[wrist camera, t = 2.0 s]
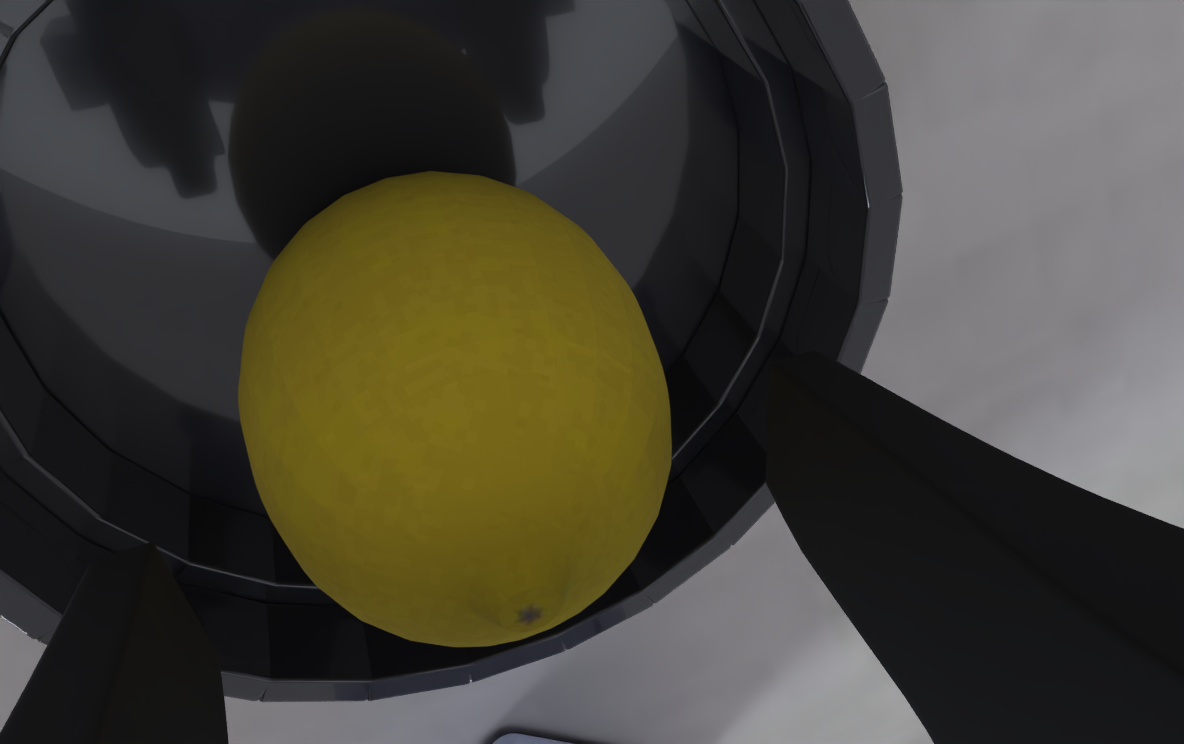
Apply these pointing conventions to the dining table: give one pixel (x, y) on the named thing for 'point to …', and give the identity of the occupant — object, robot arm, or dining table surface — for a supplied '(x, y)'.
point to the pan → (357, 159)
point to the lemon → (454, 410)
